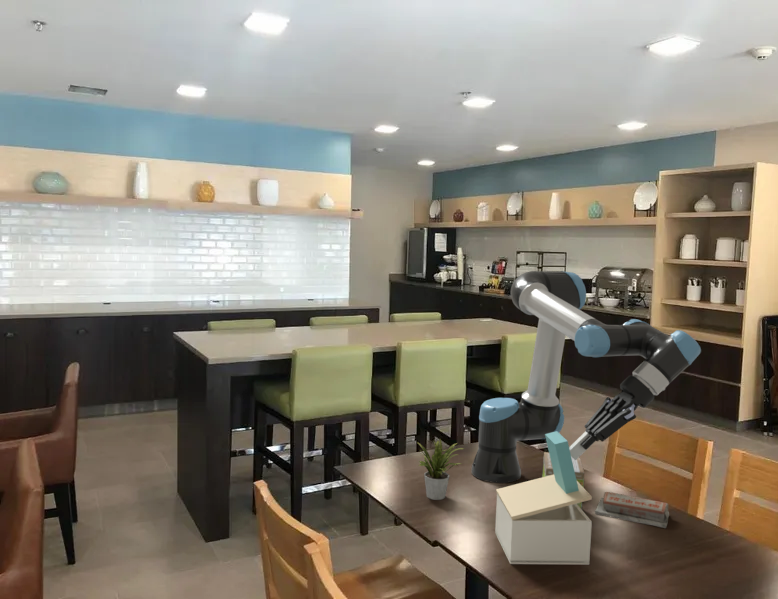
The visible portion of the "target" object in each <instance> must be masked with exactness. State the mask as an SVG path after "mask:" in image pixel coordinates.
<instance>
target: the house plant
mask: <svg viewBox="0 0 778 599" xmlns="http://www.w3.org/2000/svg"><path fill="white" fill-rule="evenodd" d="M433 442H434V452H433V454H432V455H431V456H430V454H429V452H428V450H427V448H425V447H424V446H423V445H422V444H421V443H419V442H417V444H418V445H419V446H420V447H421V449H422V450H421V449H419V452H421V453H422V454H423V458H424V461H422V460H420V461H418V463H419V464H418V467H423V466H424V467H425V468H426V470H427V471H426V472H424V473H423V474H424V483H425V485H424V486H425V493H426V498H428V499H429V500H433V501H441V500H444V499H445V498H446V494H447V490H448V485H449V479H450V474H449V473H447V471H449V470H450V469H451V468H452V467H454V466H458V465H462V463H460V462H457V463H454V462H449V461H450V459H451V458H452V457H455V456H459V454H458V453H457V454H455V453H454V452H455V451H458V450H464V449H465V448H464V447H460V448H456V445H458V442H457V443H453V444H452V445H450V446H449V448H447V449H443V442H442V440H441V438H439V440H437V441H435V440H433ZM443 452H444V453H443ZM453 453H454V454H453ZM448 466H450V467H449V468H447V467H448Z"/></svg>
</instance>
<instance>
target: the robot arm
mask: <svg viewBox="0 0 778 599" xmlns="http://www.w3.org/2000/svg"><path fill="white" fill-rule="evenodd" d="M586 290H587V289H586V286H585V283H584V282H583V279H582V278H581V276H579V275H578V274H576V273H574V272H571V271H563V270H560V271H559V270H558V271H557V270H554V271H553V270H549V271H548V270H547V271H546V270H545V271H543V270H541V271H540V270H531V271H525V272H524V273H521V274H519V275H518V277H517V278H516V279H515V280H514V281H513V283H512V285H511V287H510V298H511V300H512V303H513V305H514V306H515V307H516V308H517V309H518V310H520V311H521V312H523V313H524V314H526V315H527V316H528V315H529V316H535V317H537V318H538V323H537V329H536V335H535V341H534V342H535V343H534V347H533V348H534V349H533V354H532V361H531V368H530V372H529V373H530V374H529V378H528V384H527V385H528V387H527V389H526V390H524V391H523V392H522V393H521V398H520V402H519V401H518V400H516V399H515V398H512V397H495V398H490V399H487V400H485V401H483V403H482V404H481V405H480V409H479V415H478V420H479V422H478V424H479V425H478V448H477V451H476V454H475V456H474V459H473V461H472V465H471V474H472V476H473V477H475V478H477V479H479V480H482V481H484V482H491V483H499V484H501V483H512V482H513V481H514V482H517V481H518V479H519V480H520V479H521V477H522V469H521V467H520V463H519V457H518V454H517V442H519V441H528V440H529V441H531V440H546V437H545V434H548V433H552V432H555V431H557V432H558V433H560V432H561V431H562V430H563V427H564V423H565V414H564V408H563V406H562V405H561V404H560V399H559V398H558V397H557V395H556V392H557V387H558V380H559V376H560V369H561V364H562V358H563V352H564V347H565V342H566V337H568V338H569V339H571V340H572V341H574V346H575V348H576V349H577V352H578V354H580V355H581V356H583V357H592V358H601V357H623V356H624V357H625V356H627V357H628V356H629V357H630V356H640V357H642V358H644V359H645V360H643V362H641V363H640V364H639V365H638V366H637V367H636V368H635V369H634V370H633V371H632V375H628V376H627V377H626V378H625V379H624V380H623V381H621V383H620V384H619V388H620V390H621V392H619V393H618V394H616V395H615V396H614V397H613V398H611V397H610V396H608V397H607V396H606V397H605V399H604V401H603V403H602V404H601V405H600V406H599V408H598V409H596V411H595V412H594V414H593V415H592V416H591V417H590V419H589V420H588V421H587V422H586V423H585V425H584V428H585V431H584V432H583V433H582V434H581V435H580V436H579V437H578V438H577V439H576V440H575V441H574V442H573V443H572V444H571V445H570V446H569V449H570V454H571V456H572V458H573V459H575V460H577V459H578V458H579V457H580V458H581V456H582V455H583V454H584V453H585V452H586V451H588V449H589V448H590V447H591V446H592V445H594V444H595V442H599V441H600V442H601V443H602V442H605V441H606V440H607V439H608V438H609V437H611V436H613V434H615V433H617V431H618V430H620V429H621V428H623V427H624V426H625V425H626V424H627V423H629V422H631V421H634V420H635V419H636V418H637V415H636V414H635V413H634V412H635V411H636V410H637V409H638V407H640V408H643V409H644V408H647V406H648V405H649V404H651V403H652V402H653V401H654V400H655V396H658V395H659V394H661V392H663V391H665V390H666V388H667V387H668V386H669V385H670V384H671V383H672V382H673V381H674V380H675V379H676V378H677V377H678V376H679V375H680V374H681V373H682V372H684V371H685V370H686V369H687V368H688V367H689V366H691V365H692V363H693V362H694V361H695V360H696V359H697V357H699V355H700V354H701V353H702V349H701V346H700V345H699V343H698V342H697V341H696V340H695V338H693V337H692V335H690V334H688V333H687V332H685V331H683V330H680V329H679V330H678V329H676V330H675V331H673V333H670V335H668V334H666V333H664V332H662V331H661V330H659V329H657V328H655V327H654V326H652V325H650V323H647V321H646V322H645V321H642V320H640V319H636V318H631V319H629V320H628V321H626V322H624V323H622V324H607V323H606V324H605V323H603V322H602V321H600V320H598V319H596V318H595V317H593V316H591V315H589V314H588V313H586V312H584V311H582V310H581V309H582V308H583V307H584V306H585V304H586V300H587V291H586ZM516 480H517V481H516ZM514 482H513V483H514Z"/></svg>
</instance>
